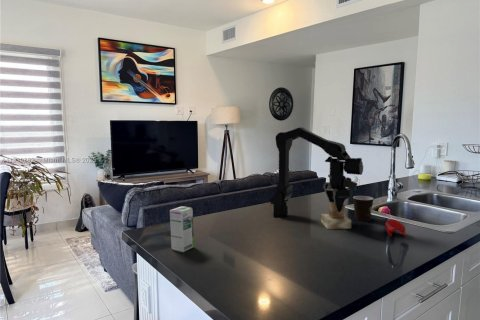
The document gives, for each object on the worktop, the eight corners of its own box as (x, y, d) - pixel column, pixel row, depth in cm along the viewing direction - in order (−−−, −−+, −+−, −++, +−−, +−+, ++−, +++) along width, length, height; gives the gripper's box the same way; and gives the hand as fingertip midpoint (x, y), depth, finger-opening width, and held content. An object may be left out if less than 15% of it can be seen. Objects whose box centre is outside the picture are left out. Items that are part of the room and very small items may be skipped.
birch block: (327, 229, 136) (327, 220, 135) (320, 222, 146) (321, 213, 145) (351, 229, 136) (351, 220, 135) (343, 222, 146) (343, 213, 145)
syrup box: (183, 252, 112) (182, 211, 110) (170, 249, 115) (169, 209, 113) (194, 247, 117) (193, 207, 115) (181, 244, 120) (180, 205, 118)
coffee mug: (363, 223, 142) (364, 200, 141) (348, 218, 150) (349, 197, 149) (381, 219, 148) (382, 197, 147) (366, 215, 155) (367, 194, 154)
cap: (382, 228, 125) (397, 222, 122) (382, 219, 130) (396, 213, 127) (394, 243, 126) (409, 238, 123) (393, 234, 131) (408, 228, 128)
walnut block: (332, 218, 138) (332, 204, 137) (329, 215, 142) (329, 202, 142) (344, 218, 137) (344, 204, 137) (340, 215, 142) (340, 201, 142)
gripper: (364, 176, 129) (363, 214, 131) (347, 169, 148) (346, 203, 149) (336, 176, 129) (335, 215, 131) (323, 170, 147) (322, 203, 149)
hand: (335, 209), depth 140 cm, fingers open, 9 cm apart
